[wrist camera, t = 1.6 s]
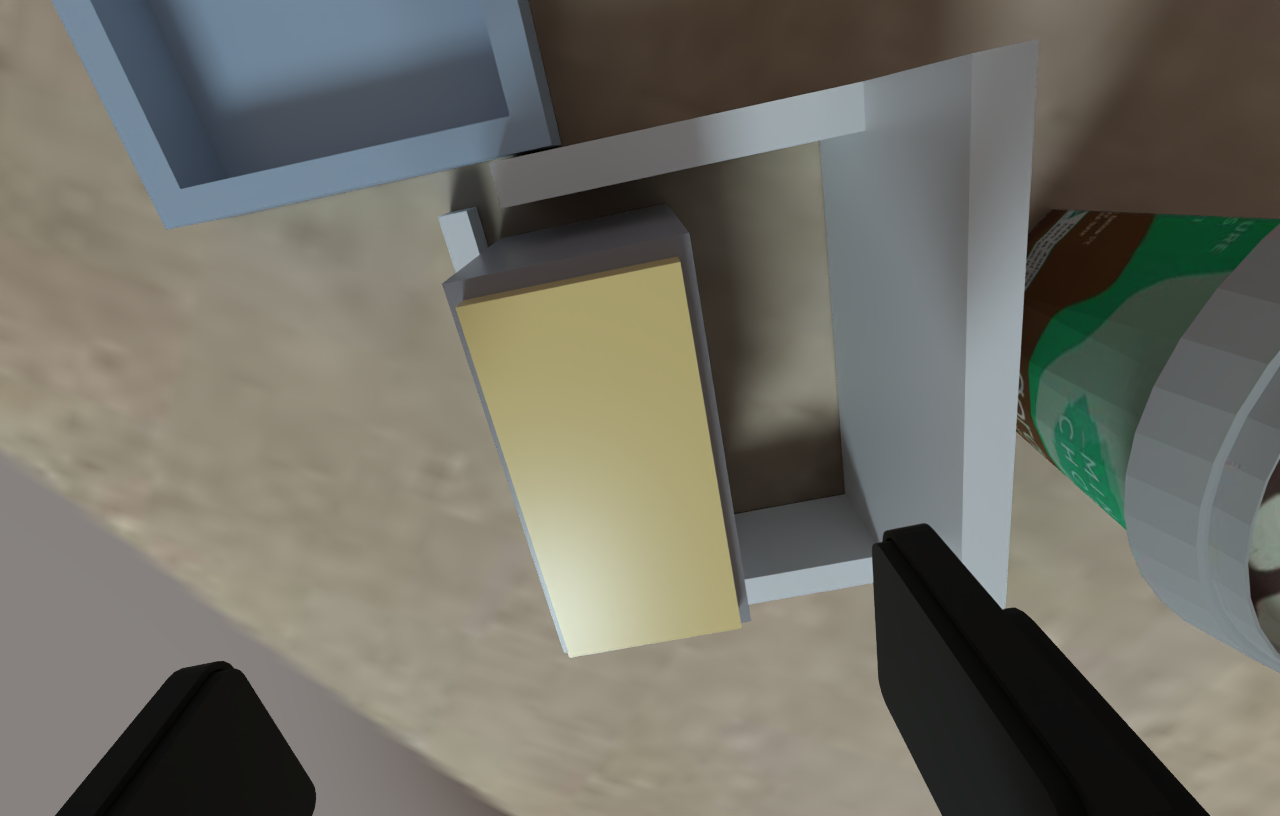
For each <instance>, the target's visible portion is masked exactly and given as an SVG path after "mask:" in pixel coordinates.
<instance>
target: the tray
mask: <svg viewBox="0 0 1280 816" xmlns="http://www.w3.org/2000/svg"><path fill="white" fill-rule="evenodd" d="M52 2H53V4H54V6H55V8H56V10H57V12H58V14H59V16H60V18H61V20H62V22H63V24H64V26H65V28H66V30H67V32H68V34H69V36H70V38H71V40H72V42H73V44H74V46H75V48H76V50H77V52H78V54H79V56H80V58H81V60H82V62H83V64H84V66H85V68H86V70H87V72H88V74H89V76H90V78H91V80H92V82H93V84H94V86H95V88H96V90H97V92H98V94H99V96H100V98H101V100H102V102H103V104H104V106H105V108H106V110H107V112H108V114H109V116H110V118H111V120H112V122H113V124H114V126H115V128H116V130H117V132H118V134H119V136H120V138H121V140H122V142H123V144H124V146H125V148H126V150H127V152H128V154H129V156H130V158H131V160H132V162H133V164H134V166H135V168H136V170H137V172H138V174H139V176H140V178H141V180H142V182H143V184H144V186H145V188H146V190H147V192H148V194H149V196H150V198H151V200H152V202H153V204H154V206H155V208H156V210H157V212H158V214H159V216H160V218H161V220H162V222H163V224H164V226H165V228H166V229H172V228H177V227H182V226H188V225H193V224H198V223H204V222H209V221H214V220H219V219H225V218H230V217H234V216H239V215H244V214H248V213H253V212H257V211H262V210H266V209H271V208H276V207H280V206H285V205H289V204H294V203H299V202H303V201H308V200H312V199H317V198H321V197H326V196H331V195H335V194H340V193H344V192H349V191H353V190H358V189H363V188H367V187H372V186H376V185H381V184H385V183H390V182H395V181H399V180H404V179H408V178H413V177H417V176H422V175H427V174H431V173H436V172H440V171H445V170H450V169H454V168H459V167H463V166H468V165H472V164H477V163H482V162H486V161H491V160H495V159H500V158H504V157H509V156H514V155H518V154H523V153H527V152H532V151H536V150H541V149H546V148H550V147H555V146H559V145H561V140H560V136H559V132H558V127H557V123H556V119H555V114H554V110H553V106H552V101H551V97H550V93H549V88H548V84H547V80H546V75H545V71H544V67H543V62H542V58H541V54H540V49H539V45H538V41H537V36H536V32H535V28H534V23H533V19H532V14H531V10H530V6H529V1H528V0H52Z"/></svg>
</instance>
